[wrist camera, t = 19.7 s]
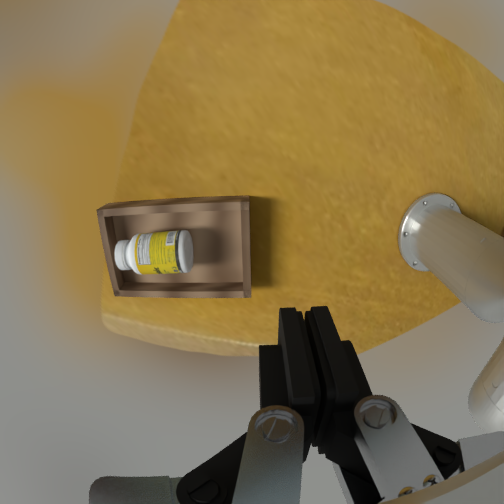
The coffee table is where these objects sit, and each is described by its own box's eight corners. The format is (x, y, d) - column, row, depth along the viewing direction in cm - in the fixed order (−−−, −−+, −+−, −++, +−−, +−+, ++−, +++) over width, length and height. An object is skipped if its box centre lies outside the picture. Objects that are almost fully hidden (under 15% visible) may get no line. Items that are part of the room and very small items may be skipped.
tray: (249, 195, 37) (248, 201, 34) (251, 284, 42) (251, 297, 39) (107, 203, 37) (96, 210, 34) (123, 284, 43) (114, 296, 39)
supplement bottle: (195, 270, 39) (130, 272, 39) (193, 230, 39) (128, 234, 39) (185, 275, 34) (113, 277, 34) (183, 229, 33) (110, 234, 34)
